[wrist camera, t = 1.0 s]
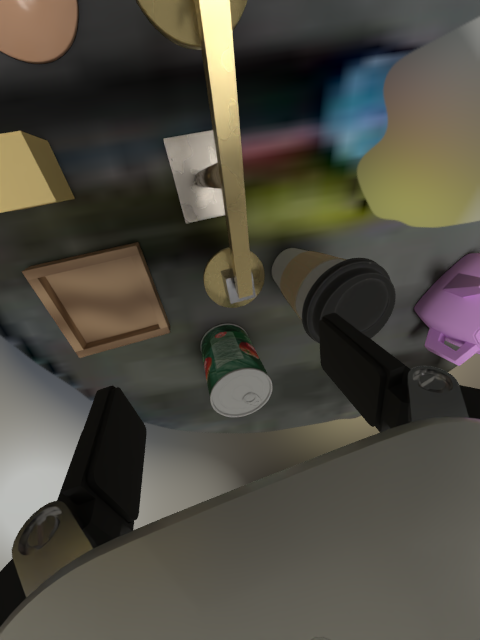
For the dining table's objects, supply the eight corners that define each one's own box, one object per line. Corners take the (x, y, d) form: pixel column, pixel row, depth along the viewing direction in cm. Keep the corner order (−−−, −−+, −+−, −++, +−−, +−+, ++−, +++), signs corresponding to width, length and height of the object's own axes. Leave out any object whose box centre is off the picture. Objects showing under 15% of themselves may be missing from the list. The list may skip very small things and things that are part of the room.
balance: (134, 31, 21) (26, -422, 5) (201, 23, 22) (282, -394, 6) (201, 281, 33) (229, 368, 17) (243, 270, 34) (306, 345, 18)
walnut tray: (30, 266, 27) (21, 271, 26) (138, 241, 29) (136, 245, 27) (84, 349, 34) (79, 357, 32) (170, 325, 35) (170, 332, 33)
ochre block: (-10, 150, 22) (-52, 142, 18) (47, 140, 23) (20, 130, 19) (24, 208, 25) (-6, 213, 21) (75, 198, 26) (56, 201, 21)
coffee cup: (257, 298, 36) (303, 359, 24) (263, 232, 32) (324, 264, 19) (313, 296, 39) (383, 350, 26) (326, 234, 34) (418, 263, 22)
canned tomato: (189, 349, 38) (196, 402, 28) (224, 313, 36) (242, 358, 27) (225, 371, 42) (241, 425, 32) (258, 340, 40) (284, 387, 31)
